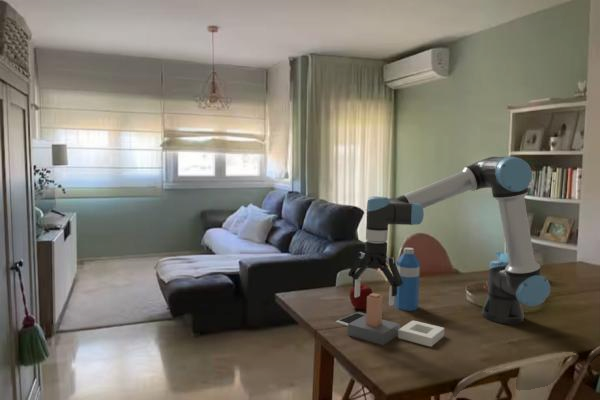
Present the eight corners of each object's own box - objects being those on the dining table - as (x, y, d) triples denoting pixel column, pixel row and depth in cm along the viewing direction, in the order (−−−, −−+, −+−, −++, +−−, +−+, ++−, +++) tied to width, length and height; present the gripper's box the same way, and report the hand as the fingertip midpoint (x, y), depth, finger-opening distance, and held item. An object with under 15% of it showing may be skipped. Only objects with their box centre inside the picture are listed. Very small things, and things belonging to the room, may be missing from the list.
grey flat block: (399, 334, 167) (399, 323, 166) (383, 345, 157) (383, 333, 157) (364, 325, 175) (365, 315, 175) (347, 334, 166) (348, 324, 165)
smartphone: (373, 318, 185) (374, 315, 185) (350, 328, 173) (350, 325, 173) (359, 313, 189) (359, 311, 189) (335, 323, 178) (335, 321, 178)
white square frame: (444, 336, 166) (444, 327, 166) (430, 346, 157) (431, 338, 156) (412, 328, 173) (412, 320, 173) (397, 337, 164) (398, 329, 164)
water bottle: (418, 311, 192) (420, 251, 189) (395, 309, 194) (397, 250, 191) (417, 304, 201) (419, 247, 198) (395, 302, 203) (397, 245, 200)
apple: (344, 308, 194) (345, 284, 193) (358, 303, 201) (358, 280, 200) (363, 313, 188) (364, 289, 187) (376, 308, 195) (377, 284, 194)
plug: (381, 334, 167) (382, 294, 165) (375, 337, 164) (377, 297, 162) (371, 331, 169) (372, 292, 168) (365, 335, 166) (366, 294, 165)
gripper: (414, 244, 158) (411, 305, 161) (351, 235, 174) (349, 291, 176) (405, 247, 153) (401, 311, 155) (340, 237, 168) (338, 295, 170)
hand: (373, 300), depth 165 cm, fingers open, 13 cm apart
